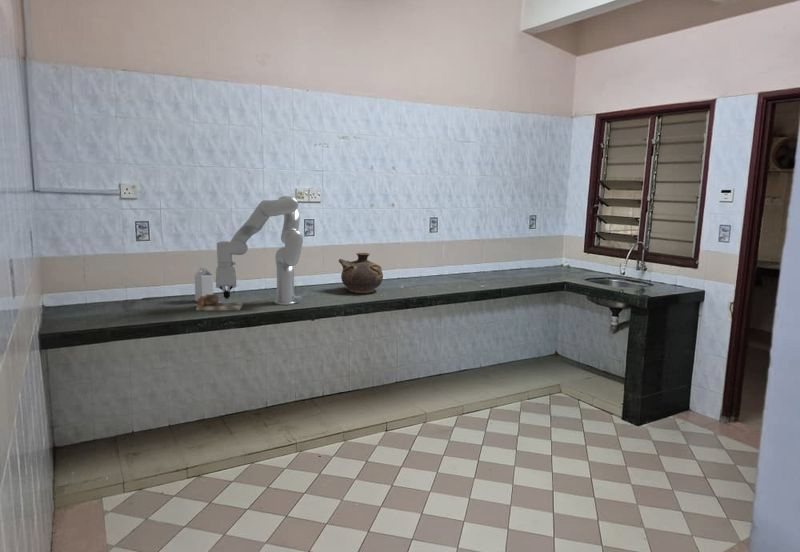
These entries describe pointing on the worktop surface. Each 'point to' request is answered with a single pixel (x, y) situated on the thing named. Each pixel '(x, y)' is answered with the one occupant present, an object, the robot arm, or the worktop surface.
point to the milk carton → (203, 283)
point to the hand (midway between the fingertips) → (226, 298)
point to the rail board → (219, 305)
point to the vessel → (361, 274)
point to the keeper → (211, 299)
